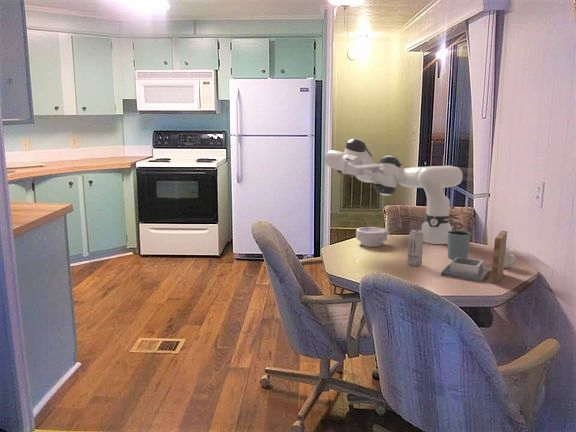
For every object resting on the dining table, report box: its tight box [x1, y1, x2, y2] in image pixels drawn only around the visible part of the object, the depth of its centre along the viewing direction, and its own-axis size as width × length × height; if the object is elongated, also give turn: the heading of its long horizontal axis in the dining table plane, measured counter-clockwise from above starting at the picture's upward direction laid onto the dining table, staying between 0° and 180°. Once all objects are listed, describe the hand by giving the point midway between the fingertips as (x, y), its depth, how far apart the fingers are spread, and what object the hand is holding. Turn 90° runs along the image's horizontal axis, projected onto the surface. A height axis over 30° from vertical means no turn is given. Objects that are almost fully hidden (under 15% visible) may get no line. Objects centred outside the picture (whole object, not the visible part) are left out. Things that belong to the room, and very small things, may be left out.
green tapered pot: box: [447, 229, 472, 261], centre depth 236 cm, size 10×10×12 cm
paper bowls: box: [355, 226, 388, 248], centre depth 258 cm, size 15×15×8 cm
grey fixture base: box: [440, 257, 492, 283], centre depth 214 cm, size 18×16×5 cm
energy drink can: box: [406, 229, 424, 267], centre depth 224 cm, size 6×6×15 cm
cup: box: [503, 246, 516, 269], centre depth 222 cm, size 11×8×8 cm
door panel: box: [490, 230, 508, 285], centre depth 206 cm, size 16×2×18 cm, turn 149°
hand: (378, 173), depth 234 cm, fingers open, 8 cm apart
